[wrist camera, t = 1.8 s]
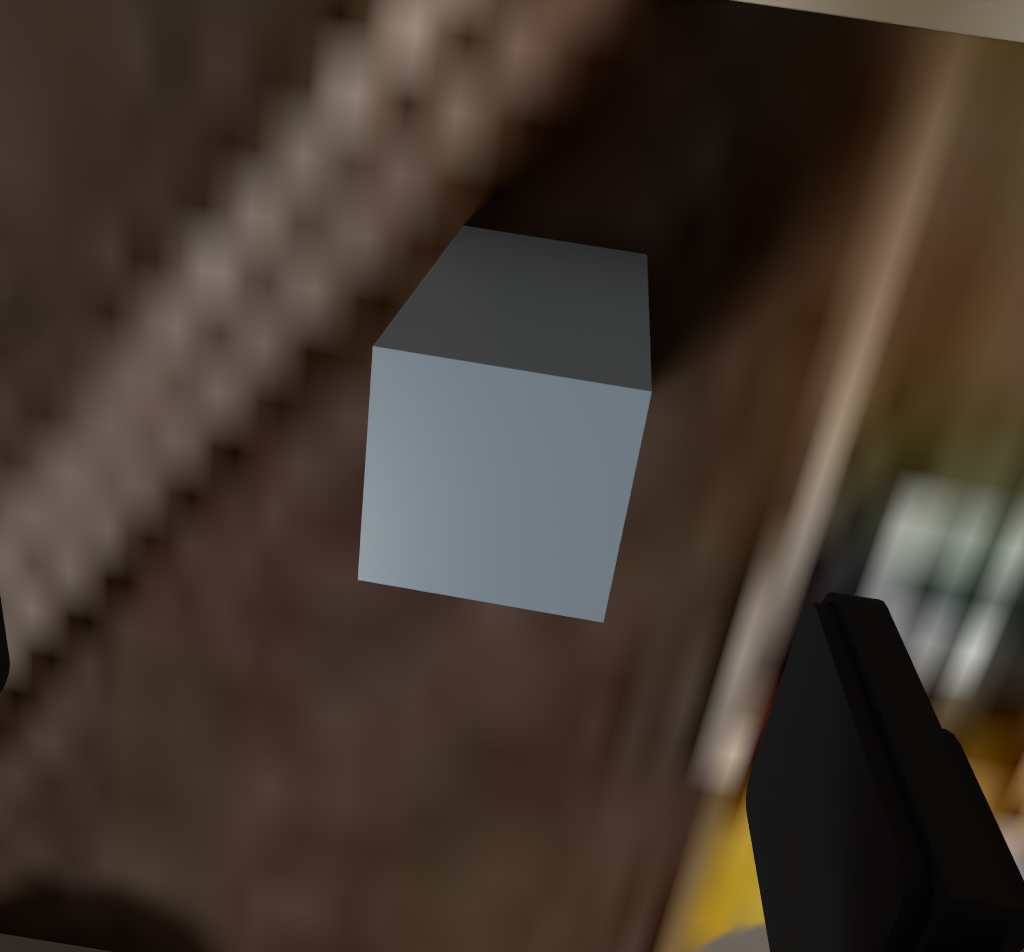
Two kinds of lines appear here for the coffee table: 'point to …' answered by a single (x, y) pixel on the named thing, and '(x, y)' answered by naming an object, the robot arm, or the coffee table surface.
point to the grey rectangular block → (509, 424)
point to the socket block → (925, 14)
